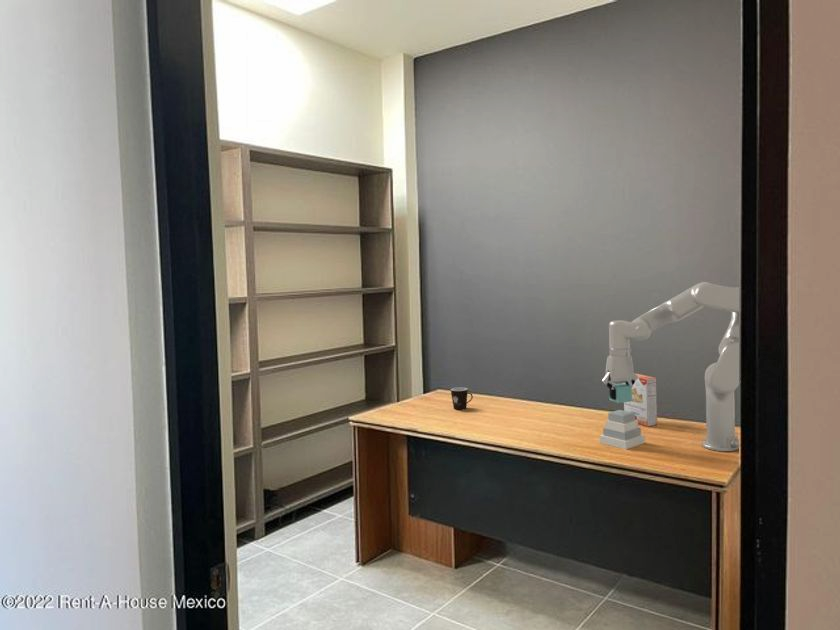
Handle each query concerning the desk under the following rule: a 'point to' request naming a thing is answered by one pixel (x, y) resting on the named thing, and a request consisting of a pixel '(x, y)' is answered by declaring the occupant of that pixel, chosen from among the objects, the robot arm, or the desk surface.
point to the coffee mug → (460, 398)
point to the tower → (622, 430)
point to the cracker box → (643, 400)
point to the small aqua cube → (622, 393)
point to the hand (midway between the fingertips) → (620, 397)
